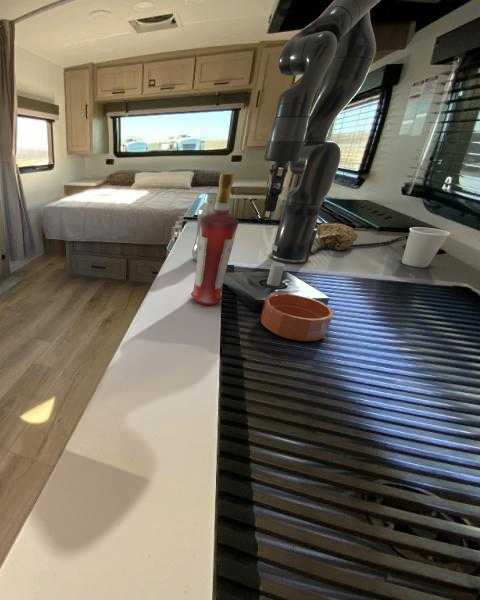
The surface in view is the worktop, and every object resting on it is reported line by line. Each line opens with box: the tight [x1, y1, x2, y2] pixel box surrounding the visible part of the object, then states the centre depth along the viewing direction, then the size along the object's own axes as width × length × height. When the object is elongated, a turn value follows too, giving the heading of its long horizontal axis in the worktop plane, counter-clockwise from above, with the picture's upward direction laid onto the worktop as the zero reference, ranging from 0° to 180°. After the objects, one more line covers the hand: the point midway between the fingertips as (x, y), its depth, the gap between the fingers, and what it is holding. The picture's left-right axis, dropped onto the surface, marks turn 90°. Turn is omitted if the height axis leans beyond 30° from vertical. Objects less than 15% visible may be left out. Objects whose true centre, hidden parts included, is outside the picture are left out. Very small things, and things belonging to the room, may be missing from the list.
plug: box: [261, 261, 285, 289], centre depth 78 cm, size 5×5×8 cm
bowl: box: [259, 294, 335, 342], centre depth 65 cm, size 11×11×5 cm
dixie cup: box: [401, 226, 451, 268], centre depth 96 cm, size 8×8×10 cm
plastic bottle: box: [191, 192, 218, 261], centre depth 98 cm, size 6×7×20 cm
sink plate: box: [223, 270, 330, 313], centre depth 79 cm, size 16×16×3 cm
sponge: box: [316, 222, 359, 251], centre depth 116 cm, size 13×8×20 cm
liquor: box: [190, 172, 239, 306], centre depth 71 cm, size 7×7×28 cm
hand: (269, 208), depth 86 cm, fingers open, 8 cm apart
